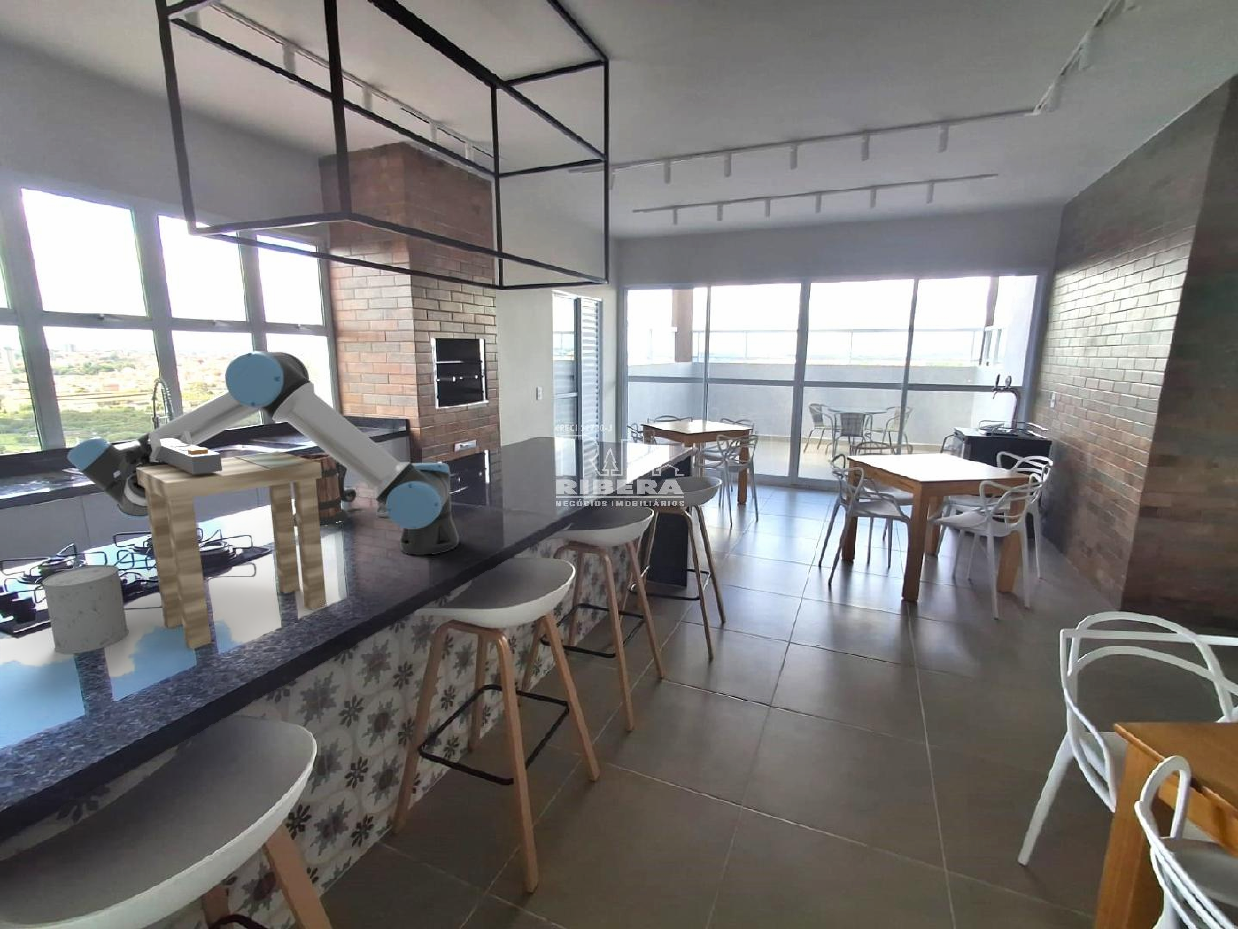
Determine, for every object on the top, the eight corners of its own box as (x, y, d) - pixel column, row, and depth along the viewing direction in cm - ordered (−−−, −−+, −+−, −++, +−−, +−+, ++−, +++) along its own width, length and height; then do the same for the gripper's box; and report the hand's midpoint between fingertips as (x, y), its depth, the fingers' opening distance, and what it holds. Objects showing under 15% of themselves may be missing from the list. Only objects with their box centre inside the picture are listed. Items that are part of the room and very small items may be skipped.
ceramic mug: (392, 507, 186) (390, 485, 184) (412, 510, 183) (411, 488, 182) (369, 516, 176) (367, 493, 174) (390, 519, 173) (388, 496, 172)
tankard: (320, 529, 161) (315, 462, 157) (274, 524, 166) (268, 458, 162) (375, 509, 183) (371, 450, 180) (333, 504, 188) (329, 447, 184)
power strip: (149, 455, 107) (146, 437, 107) (174, 452, 110) (172, 435, 110) (194, 474, 92) (191, 453, 91) (222, 470, 95) (219, 450, 94)
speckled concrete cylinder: (55, 639, 98) (43, 573, 95) (126, 622, 104) (116, 560, 102) (54, 660, 91) (41, 591, 89) (130, 640, 98) (120, 575, 95)
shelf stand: (158, 622, 105) (135, 466, 99) (293, 583, 123) (280, 451, 118) (190, 653, 94) (166, 481, 88) (332, 606, 113) (320, 461, 107)
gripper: (203, 492, 123) (231, 451, 109) (101, 507, 110) (118, 463, 96) (193, 461, 124) (220, 417, 110) (91, 472, 111) (107, 424, 97)
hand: (173, 438), depth 103 cm, fingers closed on power strip, 4 cm apart
